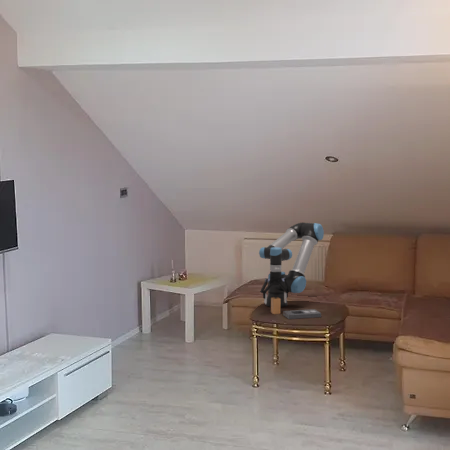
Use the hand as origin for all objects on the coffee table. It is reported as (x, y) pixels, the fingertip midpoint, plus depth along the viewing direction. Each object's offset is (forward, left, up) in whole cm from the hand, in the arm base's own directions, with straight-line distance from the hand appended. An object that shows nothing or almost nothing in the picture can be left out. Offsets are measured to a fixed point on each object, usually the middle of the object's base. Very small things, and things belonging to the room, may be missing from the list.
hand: (275, 303), depth 454 cm
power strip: (+12, +14, -7) cm, 20 cm away
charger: (0, 0, -7) cm, 7 cm away
